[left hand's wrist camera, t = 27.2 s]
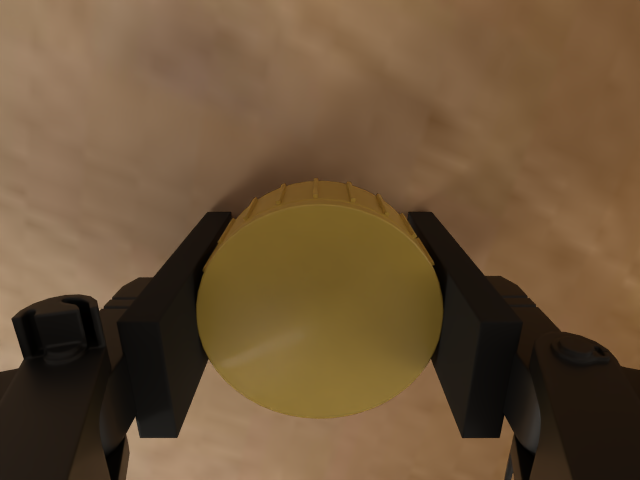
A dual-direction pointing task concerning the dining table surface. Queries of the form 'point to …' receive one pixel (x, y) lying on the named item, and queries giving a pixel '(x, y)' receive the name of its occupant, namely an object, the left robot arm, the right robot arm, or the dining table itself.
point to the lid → (319, 301)
